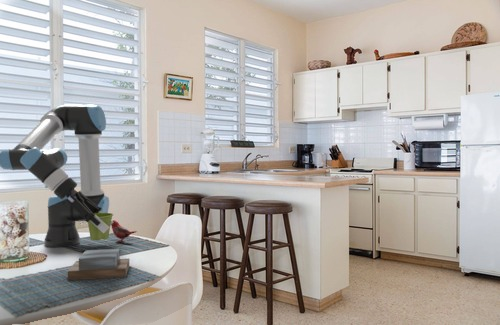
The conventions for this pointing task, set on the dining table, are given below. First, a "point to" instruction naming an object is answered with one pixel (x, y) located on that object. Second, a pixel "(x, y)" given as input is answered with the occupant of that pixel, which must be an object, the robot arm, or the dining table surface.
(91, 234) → the plant pot
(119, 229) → the decorative bird figurine
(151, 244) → the dining table surface
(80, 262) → the brick stand
